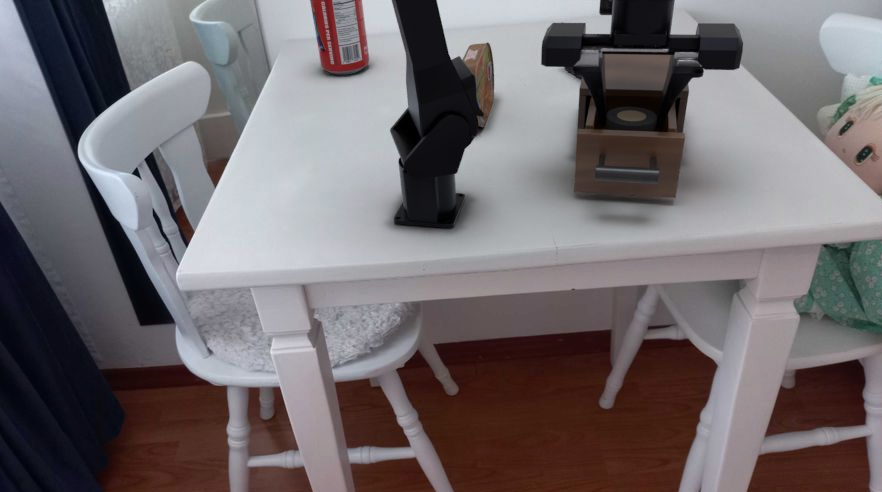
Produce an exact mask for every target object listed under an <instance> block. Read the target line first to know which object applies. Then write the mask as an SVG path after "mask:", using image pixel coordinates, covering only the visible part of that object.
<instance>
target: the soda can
mask: <svg viewBox="0 0 882 492" xmlns="http://www.w3.org/2000/svg"><path fill="white" fill-rule="evenodd" d="M309 3H310V7H311V13H312V14H311V15H312V19H313V27H314V30H315V31H314V32H315V37H316V43H317V50H318V55H319V61H320V66H321V68H322V69H323V70H324V71H326V72H328V73H330V74H333V75H337V76H341V75H342V76H344V75H345V76H346V75H351V74H352V75H353V74H356V73H358V72H360V71H362V70H363V69H364V68H366V67H367V66H368V64H369V63H370V54H369V45H368V37H367V36H368V35H367V30H366V21H365V14H364V5H363V0H309Z"/></svg>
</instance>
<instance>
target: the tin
mask: <svg viewBox="0 0 882 492" xmlns="http://www.w3.org/2000/svg"><path fill="white" fill-rule="evenodd" d="M467 47H468V48H467V50H466V51H465V54H464V55H463V58H462V60H463V61H464V62H465V64H466V65H467V66H468V68H469V69H470V70H471V72H472V73H473V74H474V76H475V80H476V96H477V102H478V105H479V108H480V109H481V110H482V112H483V113H484V116H482V117H481V116H477V119H478V128H480V127H481V128H484V127H485V126H486V124H487V120H488V117H489V114H490V112H491V109H492V106H493V102H494V97H495V66H494V57H493V56H494V55H493V51H492V46H491V44H490V42H483V43H473V44H470V45H469V46H467Z"/></svg>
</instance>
